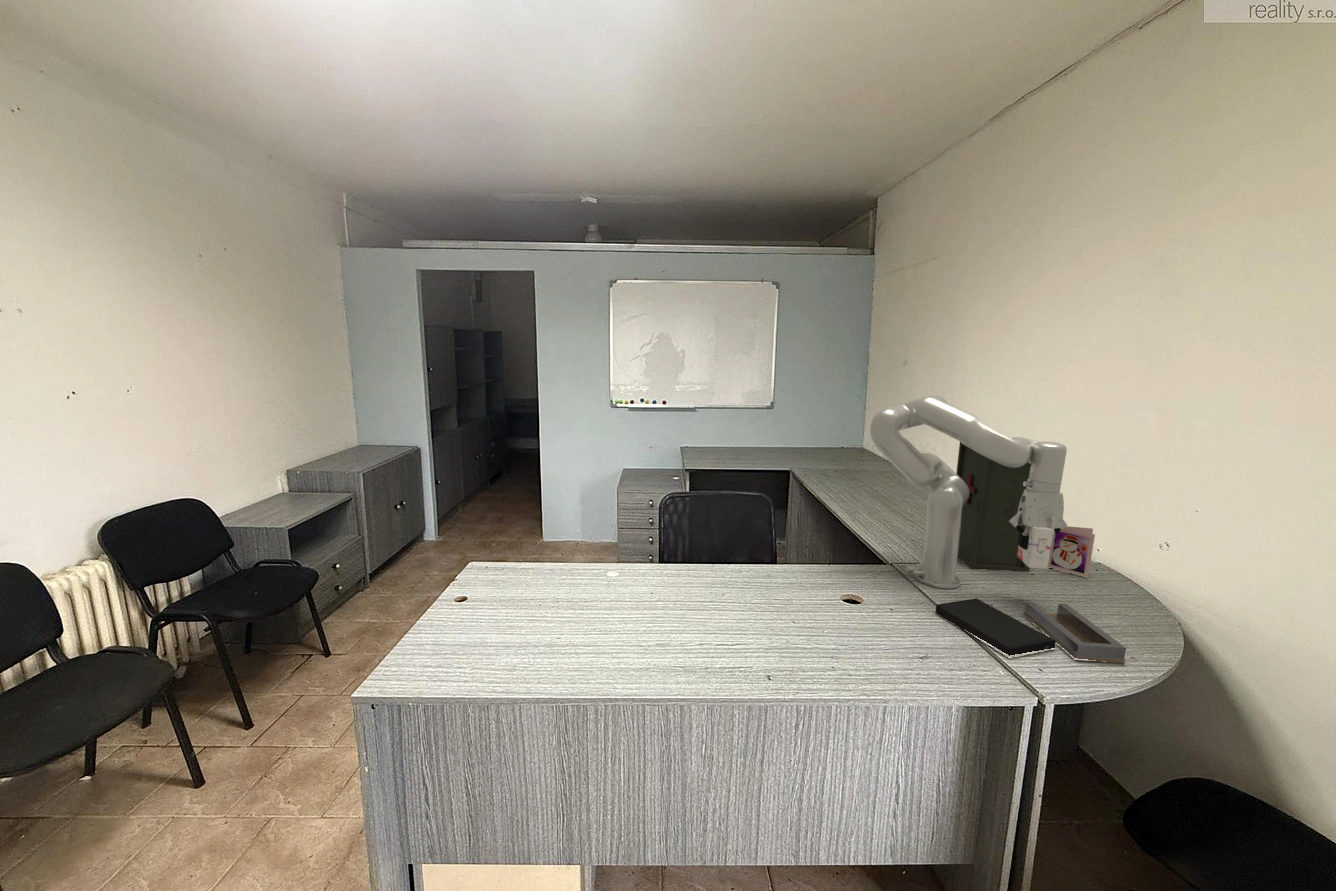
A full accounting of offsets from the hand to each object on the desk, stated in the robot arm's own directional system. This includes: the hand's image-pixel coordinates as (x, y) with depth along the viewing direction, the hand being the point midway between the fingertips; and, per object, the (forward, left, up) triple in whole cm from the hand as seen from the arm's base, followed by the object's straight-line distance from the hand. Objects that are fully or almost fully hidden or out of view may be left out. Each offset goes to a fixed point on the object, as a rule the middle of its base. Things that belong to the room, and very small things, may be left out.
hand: (1033, 547), depth 154 cm
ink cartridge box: (0, 0, -5) cm, 5 cm away
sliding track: (0, -19, -17) cm, 25 cm away
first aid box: (+4, +33, -17) cm, 37 cm away
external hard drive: (-18, -18, -17) cm, 31 cm away
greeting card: (+27, +26, -17) cm, 41 cm away
